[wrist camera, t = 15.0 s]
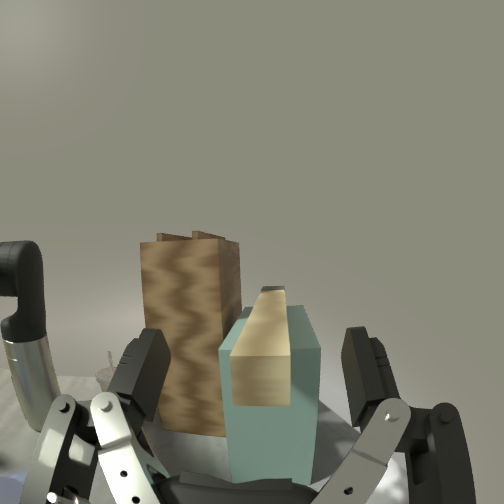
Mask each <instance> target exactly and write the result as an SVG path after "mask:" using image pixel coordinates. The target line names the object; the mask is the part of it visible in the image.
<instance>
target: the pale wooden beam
mask: <svg viewBox="0 0 504 504" xmlns="http://www.w3.org/2000/svg"><path fill="white" fill-rule="evenodd" d="M230 371H231V384H232V397H233V406H290V378H291V355H290V343H289V332H288V322H287V311H286V301H285V289H284V286H265V287H263V288H262V289H261V293H260V295H259V297H258V299H257V301H256V303H255V305H254V307H253V309H252V311H251V313H250V316H249V318H248V320H247V322H246V324H245V326H244V328H243V330H242V332H241V334H240V336H239V338H238V340H237V342H236V344H235V346H234V348H233V350H232V352H231V354H230Z"/></svg>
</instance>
